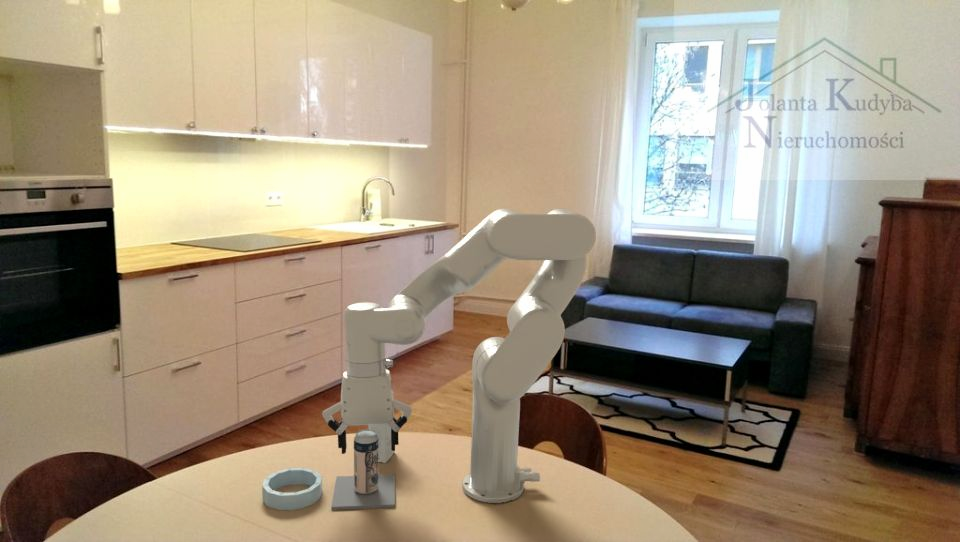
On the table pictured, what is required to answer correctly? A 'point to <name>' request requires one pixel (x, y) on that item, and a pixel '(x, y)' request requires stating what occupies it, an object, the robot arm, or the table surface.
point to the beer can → (366, 461)
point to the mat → (353, 500)
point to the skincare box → (383, 441)
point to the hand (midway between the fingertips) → (368, 449)
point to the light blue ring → (292, 499)
